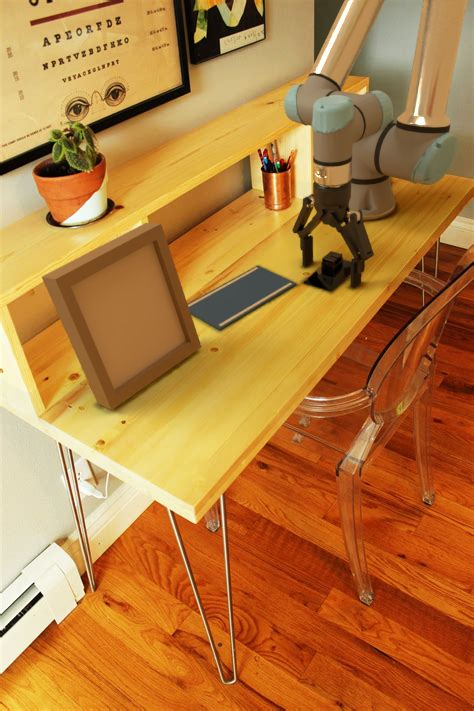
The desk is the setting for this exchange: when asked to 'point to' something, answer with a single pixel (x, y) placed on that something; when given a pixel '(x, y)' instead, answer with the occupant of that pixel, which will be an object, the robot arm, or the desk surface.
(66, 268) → the photo frame
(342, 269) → the build plate
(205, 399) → the desk surface
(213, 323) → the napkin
